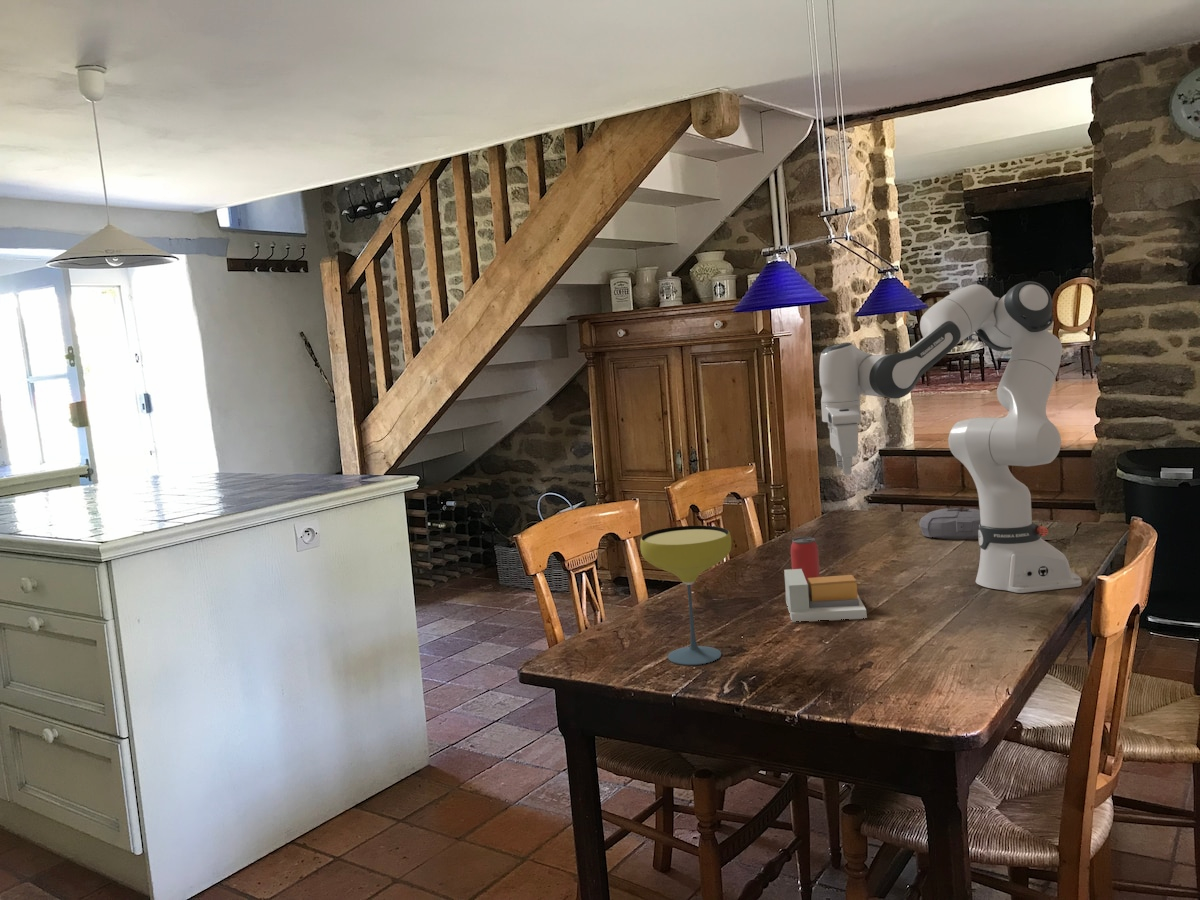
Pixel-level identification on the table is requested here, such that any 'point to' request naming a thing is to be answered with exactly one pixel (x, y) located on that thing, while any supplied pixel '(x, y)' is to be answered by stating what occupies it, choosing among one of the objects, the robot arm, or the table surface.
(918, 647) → the table surface
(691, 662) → the cocktail glass
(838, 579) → the cardboard box
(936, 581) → the table surface
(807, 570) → the beer can
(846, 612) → the white l-shaped stand
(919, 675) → the table surface
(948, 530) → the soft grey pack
